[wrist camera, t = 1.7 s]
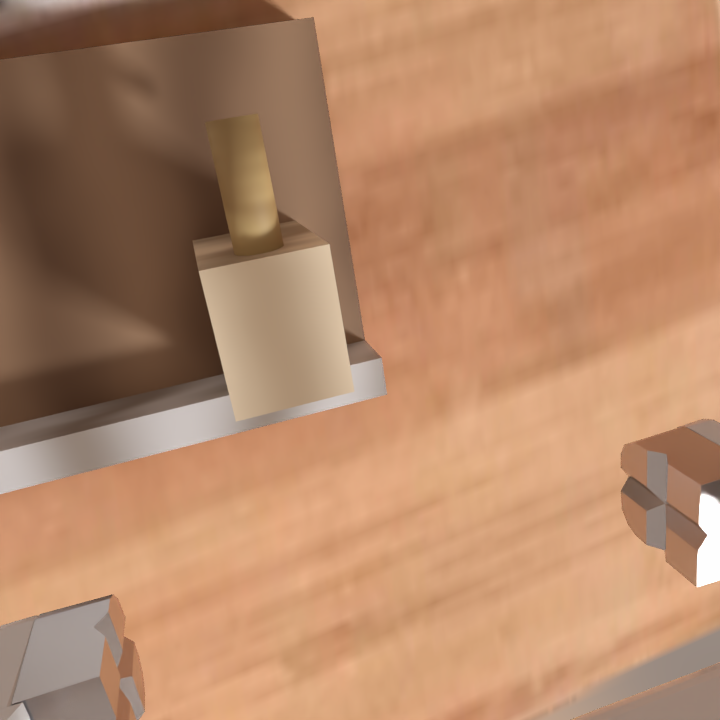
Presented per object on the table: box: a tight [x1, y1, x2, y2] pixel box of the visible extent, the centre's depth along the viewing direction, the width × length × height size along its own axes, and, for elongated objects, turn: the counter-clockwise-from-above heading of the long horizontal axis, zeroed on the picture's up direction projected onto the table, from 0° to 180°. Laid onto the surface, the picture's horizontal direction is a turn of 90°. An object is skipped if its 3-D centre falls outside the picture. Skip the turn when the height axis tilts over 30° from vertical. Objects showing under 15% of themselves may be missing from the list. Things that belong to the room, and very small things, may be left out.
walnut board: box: [0, 17, 387, 494], centre depth 24 cm, size 22×14×4 cm, turn 99°
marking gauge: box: [193, 114, 355, 422], centre depth 23 cm, size 4×9×6 cm, turn 8°
